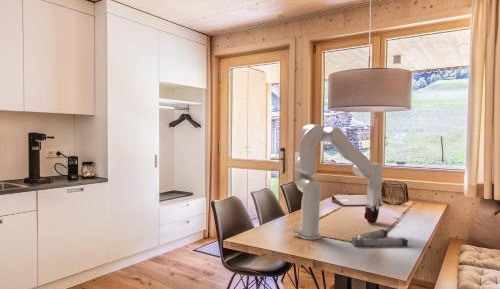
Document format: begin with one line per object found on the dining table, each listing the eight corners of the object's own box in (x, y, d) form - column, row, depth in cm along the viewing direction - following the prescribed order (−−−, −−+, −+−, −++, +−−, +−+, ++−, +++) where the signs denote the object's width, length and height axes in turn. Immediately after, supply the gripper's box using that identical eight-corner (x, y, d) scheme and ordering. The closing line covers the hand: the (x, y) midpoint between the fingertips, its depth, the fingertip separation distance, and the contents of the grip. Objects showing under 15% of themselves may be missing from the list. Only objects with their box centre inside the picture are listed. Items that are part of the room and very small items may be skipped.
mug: (371, 226, 208) (372, 209, 207) (359, 223, 214) (360, 207, 213) (380, 223, 215) (381, 207, 214) (369, 220, 221) (369, 204, 220)
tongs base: (354, 246, 171) (355, 238, 171) (351, 243, 176) (351, 235, 176) (408, 246, 172) (408, 238, 172) (403, 243, 177) (403, 235, 177)
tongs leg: (360, 242, 176) (361, 236, 176) (356, 241, 179) (356, 235, 179) (387, 236, 188) (387, 230, 188) (382, 234, 191) (382, 229, 191)
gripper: (362, 183, 200) (362, 214, 201) (373, 187, 185) (373, 221, 186) (375, 182, 200) (375, 214, 201) (387, 187, 185) (386, 221, 186)
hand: (374, 217), depth 194 cm, fingers closed
